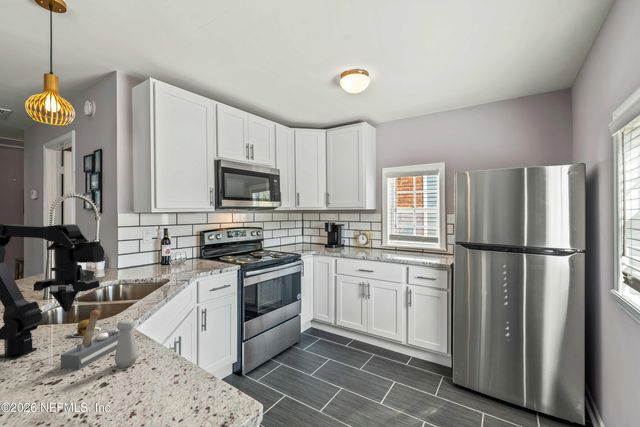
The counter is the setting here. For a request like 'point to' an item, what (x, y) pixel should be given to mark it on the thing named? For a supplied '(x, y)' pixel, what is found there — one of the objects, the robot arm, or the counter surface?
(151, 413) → the counter surface
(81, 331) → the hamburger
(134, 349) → the salt shaker
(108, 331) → the block
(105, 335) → the white button
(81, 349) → the console
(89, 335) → the ash lever
